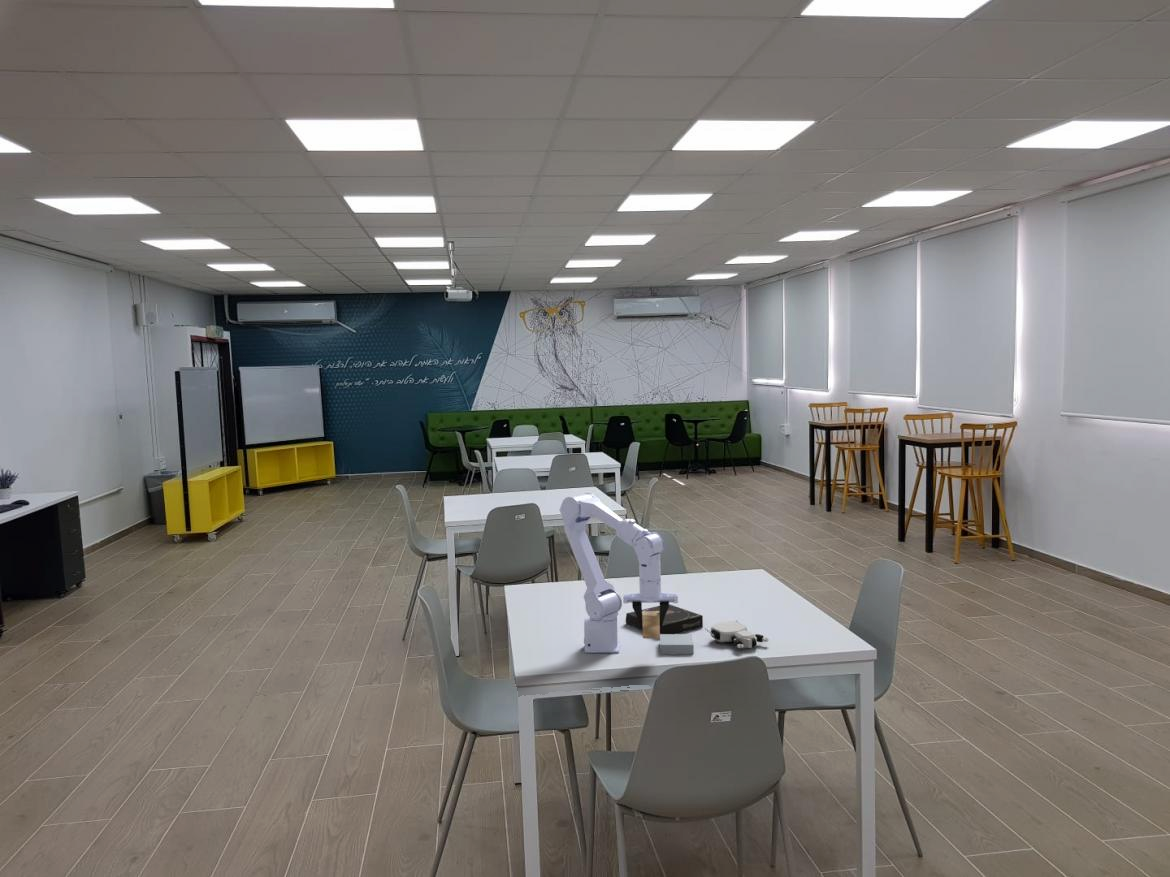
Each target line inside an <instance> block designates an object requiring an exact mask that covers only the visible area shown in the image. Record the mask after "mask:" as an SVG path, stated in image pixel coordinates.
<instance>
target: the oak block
mask: <svg viewBox="0 0 1170 877" xmlns="http://www.w3.org/2000/svg"><path fill="white" fill-rule="evenodd" d="M642 621H643V631H642V638H643V639H660V621H659V611H642Z"/></svg>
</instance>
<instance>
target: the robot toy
mask: <svg viewBox="0 0 1170 877" xmlns="http://www.w3.org/2000/svg"><path fill="white" fill-rule="evenodd" d="M704 630H705V631H707V632H708V633H709V634H710V636H711V638H713V639H715V640H716V641H718V642H719V643H722V644H723V643H730V642H732V643H733V645H734V647H735V648H736V649H742V650H743V649H745V650H746V649H752V648H755V647H757V645H758V643H763V642H764V643H767V642H769V638H768V637H764V635H763V634H758V633H756V634H755V633H754V632H751V631H749V630H748V628H747V626H746V625H744V624H743V623H741V622H739V621H738V620H735V621H732V620H731V621H730V620H729V621H722V622H718V623H716V624H714V625H712V626H711V628H710V630H709V629H708V628H707V627H704Z"/></svg>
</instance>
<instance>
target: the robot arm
mask: <svg viewBox="0 0 1170 877" xmlns="http://www.w3.org/2000/svg"><path fill="white" fill-rule="evenodd" d="M559 512H560V514H561V517H562V520H563V528H564V534H565V535H566V538H567V540H568V543H569V546H570V548H571V550H572V553H573V555H574V557H575V560H576V563H577V565H578V568H579V570H580V571H579V572H580V574H581V576H582V579H583V581H584V582H585V586H586V589H585V590H586V591H585V592H584V594H583V599H584V602H585V611H586V613H587V615H588V617H584V622H583V625H584V626H583V631H584V634H583V635H584V637H583V644H584V653H589V654H591V653H592V654H593V653H596V654H597V653H600V654H601V653H604V654H605V653H611V654H612V653H617V654H618V653H619V652H620V645H621V644H620V641H619V640H618V637H619V636H618V616H619V611H621V609H622V607H623V604H631V605H632V610H633V612H634V611H635V613H636V616H637V618H638V621H639V625H640V631H642V630H643V621H642V610H643V608H642V607H643V606H642V605H643V604H645V603H651V604H652V603H659V606H660V630H662V626H663V621H664V618H665V615H666V613H667V610H668V608H669V604H670V603H673V604H679V596H678V593H662V582H661V580H662V579H661V576H662V575H661V565H662V564H661V553H662V552H664V549H665V541H664V538H663V537H662V535H660V534H659V533H658V532H653V531H652V532H649V530H648V529H647V528H643V526H640V525H639V524H637V523H636V520H635V519H633V518H631V519H630V518H626V519H623V518H621V517H620V516H619V515H618V514H616V513H615V512H614V511H612V510H611V509H610V508H609V507H607V505H605V504H603V503H602V502H601V499H600V498H599V497H597V496H595V495H594V494H593V493H591V492H586V493H584V494H578V495H574V496H573V495H572V496H566V497H565V498H564V499H563V500H562V502H561V505H560V508H559ZM592 518H594V519H597V520H598V521H600V522H602V523H603V524H604V525H607V527H609V528H612V529H614V530H615V534H616V536H617V537H618V538H620V540H622V541H624V543H626V544H628V545H629V546H630V547H632V548H633V550H634V552H635V555H636V557H637V562H638V571H639V572H638V573H639V574H638V575H639V576H638V577H639V579H638V580H639V593H630V594H623V595H622V597H621V595H620V594H619V592H618V591H616V589H615V587H614V585H613V584H612V583H610V582H608V581H607V580H606V579H605V576H604V573H603V571H602V569H601V566H600V564H599V561H598V559H597V557H596V554H595V552H594V549H593V547H592V543H591V542H590V539H589V536H588V534H587V532H586V527H587V525H588V522H589V521H590V520H591V519H592ZM622 598H623V599H622Z"/></svg>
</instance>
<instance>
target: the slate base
mask: <svg viewBox="0 0 1170 877" xmlns="http://www.w3.org/2000/svg"><path fill="white" fill-rule="evenodd" d="M659 647H660V648H659V650H660V651H659V652H660V655H679V654H680V655H692V654H693V655H694V652H695V651H694V641H693V634H690V633H689V634H687V633H686V634H685V633H684V634H683V633H678V634H660V638H659Z"/></svg>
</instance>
